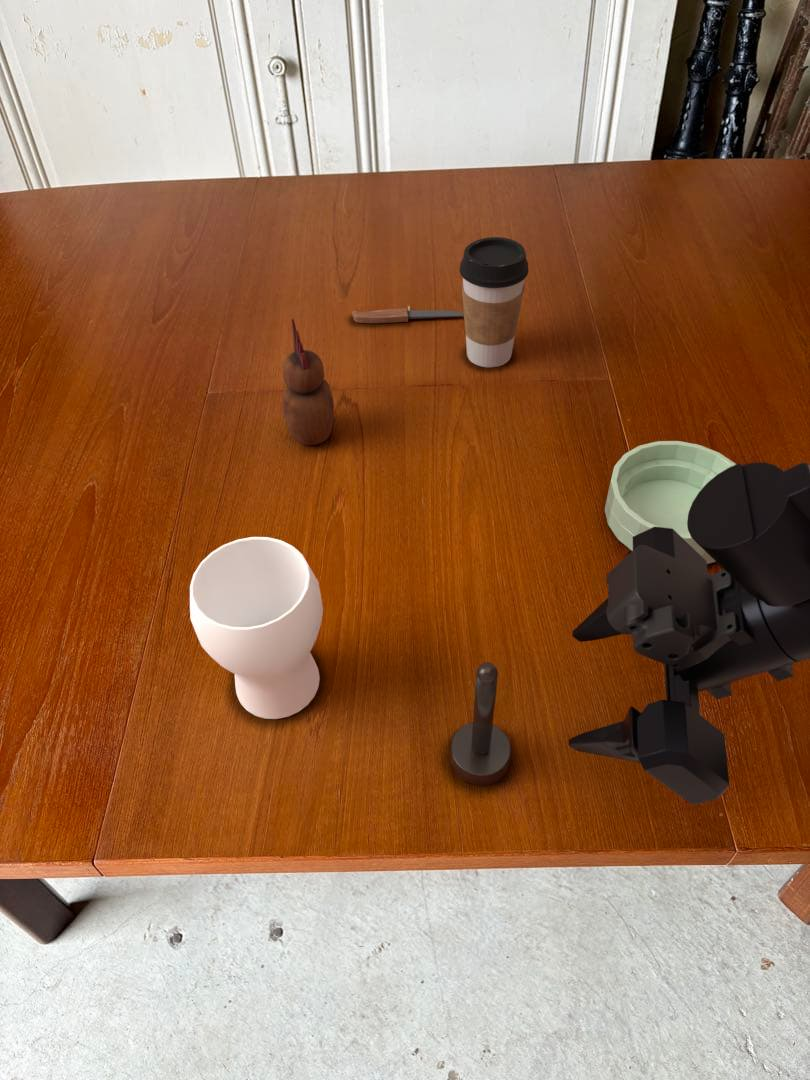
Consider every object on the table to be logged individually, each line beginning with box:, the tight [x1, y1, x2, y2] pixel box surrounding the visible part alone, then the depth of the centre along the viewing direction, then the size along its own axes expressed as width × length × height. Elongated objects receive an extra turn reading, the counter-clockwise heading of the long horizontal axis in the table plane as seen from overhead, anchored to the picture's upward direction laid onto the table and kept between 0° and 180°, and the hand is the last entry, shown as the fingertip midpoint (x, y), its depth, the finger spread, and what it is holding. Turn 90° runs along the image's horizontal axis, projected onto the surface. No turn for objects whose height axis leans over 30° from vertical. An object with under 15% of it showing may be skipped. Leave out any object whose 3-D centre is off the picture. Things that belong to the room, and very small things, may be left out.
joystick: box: [450, 661, 512, 787], centre depth 64 cm, size 5×5×14 cm
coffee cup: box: [459, 236, 529, 368], centre depth 103 cm, size 8×8×15 cm
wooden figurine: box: [282, 318, 335, 446], centre depth 93 cm, size 7×6×15 cm
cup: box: [189, 536, 324, 720], centre depth 70 cm, size 11×11×15 cm
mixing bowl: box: [604, 440, 737, 565], centre depth 86 cm, size 14×14×5 cm
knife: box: [351, 305, 464, 324], centre depth 114 cm, size 17×1×3 cm
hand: (573, 688), depth 59 cm, fingers open, 9 cm apart
